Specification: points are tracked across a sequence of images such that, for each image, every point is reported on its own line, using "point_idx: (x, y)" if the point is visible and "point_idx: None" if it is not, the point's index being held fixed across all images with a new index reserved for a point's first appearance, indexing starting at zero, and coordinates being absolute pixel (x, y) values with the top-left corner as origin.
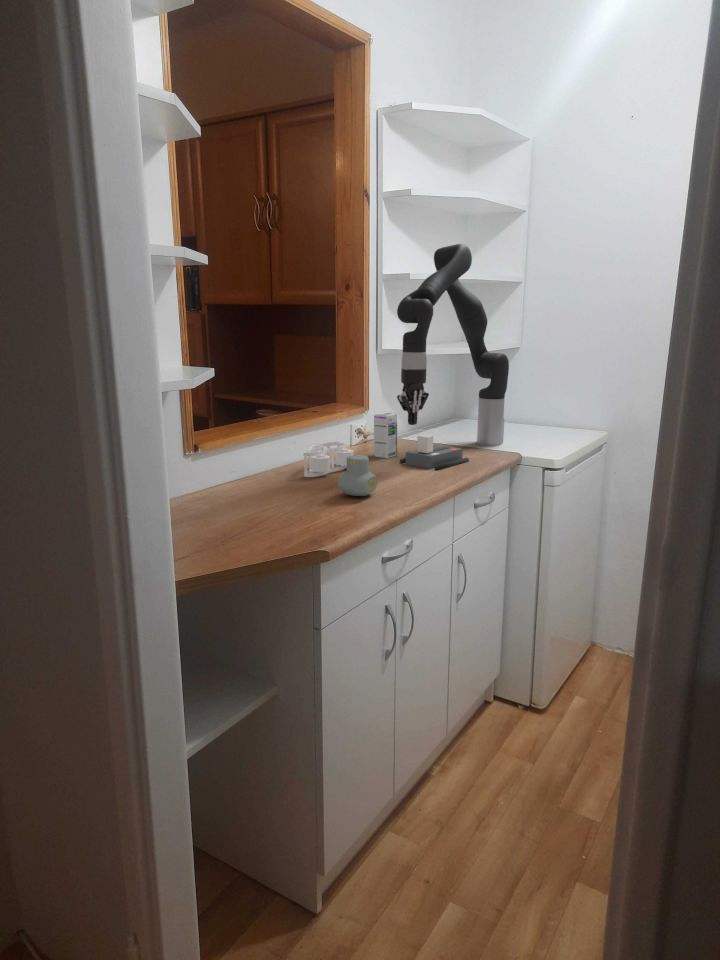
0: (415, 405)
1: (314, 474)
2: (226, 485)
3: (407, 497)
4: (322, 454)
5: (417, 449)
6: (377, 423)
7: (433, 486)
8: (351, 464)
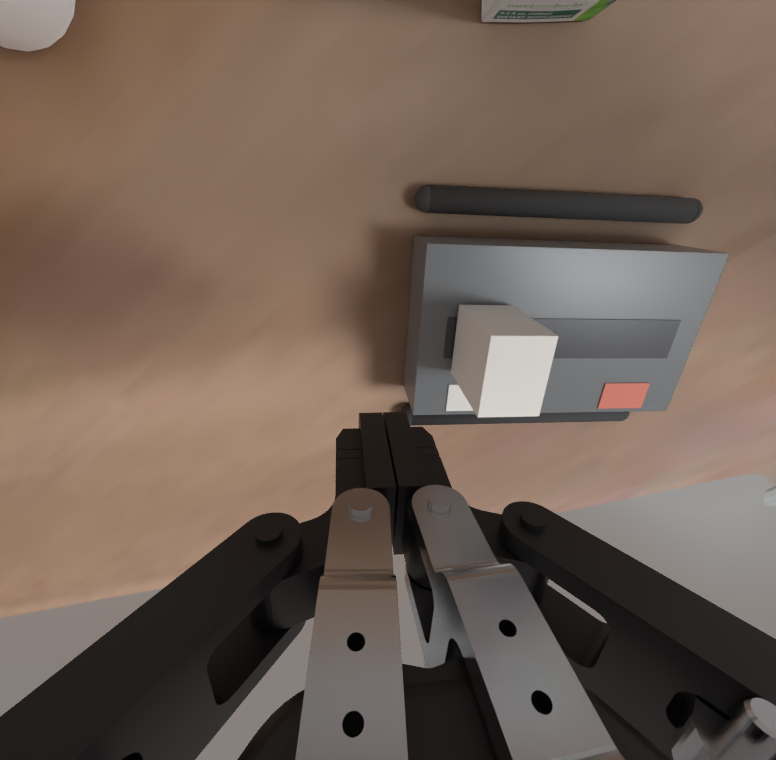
0: (525, 557)
1: None
2: None
3: (8, 570)
4: None
5: (462, 310)
6: None
7: (189, 540)
8: None
